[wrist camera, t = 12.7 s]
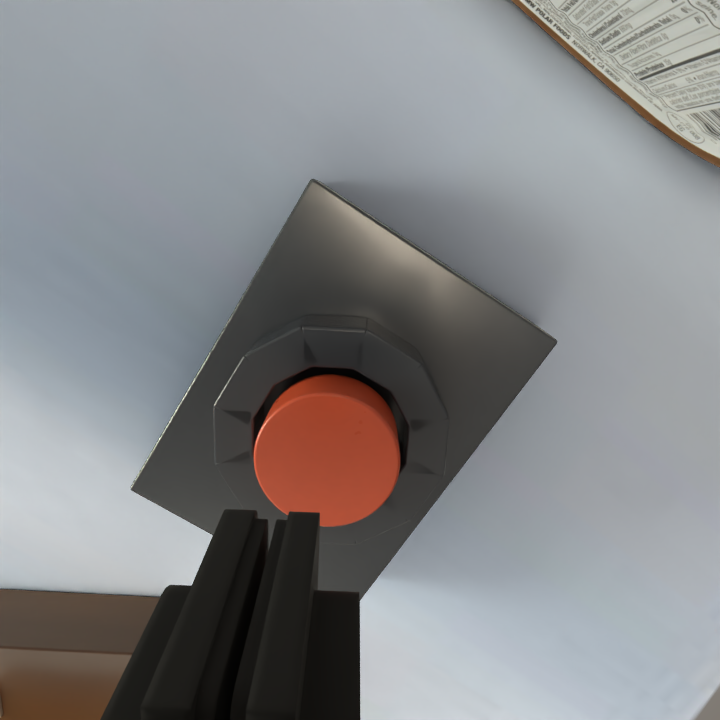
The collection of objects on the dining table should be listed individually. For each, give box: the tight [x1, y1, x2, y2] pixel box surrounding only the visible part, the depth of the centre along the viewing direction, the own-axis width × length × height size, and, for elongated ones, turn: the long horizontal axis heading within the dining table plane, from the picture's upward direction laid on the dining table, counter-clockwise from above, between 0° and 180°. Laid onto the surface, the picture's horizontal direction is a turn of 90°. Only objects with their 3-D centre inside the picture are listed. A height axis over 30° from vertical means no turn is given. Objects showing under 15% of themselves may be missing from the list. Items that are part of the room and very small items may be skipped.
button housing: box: [131, 179, 557, 600], centre depth 18 cm, size 12×9×4 cm
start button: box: [254, 374, 400, 527], centre depth 16 cm, size 4×4×2 cm
